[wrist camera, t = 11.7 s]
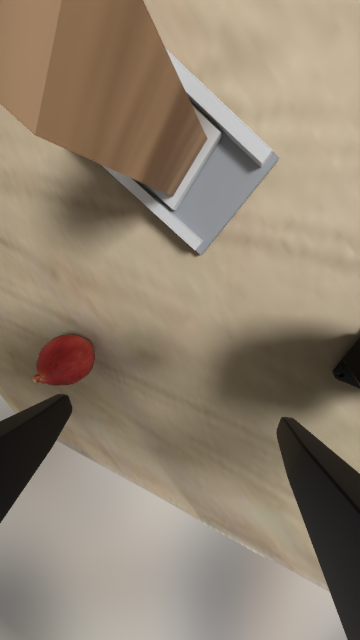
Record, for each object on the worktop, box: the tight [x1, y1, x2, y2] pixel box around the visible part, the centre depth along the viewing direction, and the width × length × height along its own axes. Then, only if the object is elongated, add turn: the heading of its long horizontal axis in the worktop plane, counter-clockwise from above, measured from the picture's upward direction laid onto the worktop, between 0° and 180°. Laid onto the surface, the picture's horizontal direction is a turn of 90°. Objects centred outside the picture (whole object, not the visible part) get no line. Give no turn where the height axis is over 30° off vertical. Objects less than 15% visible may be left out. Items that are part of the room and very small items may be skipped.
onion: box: [32, 334, 95, 385], centre depth 23 cm, size 6×6×8 cm
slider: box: [102, 49, 279, 255], centre depth 15 cm, size 15×8×2 cm, turn 52°
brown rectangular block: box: [0, 0, 222, 210], centre depth 9 cm, size 5×5×12 cm
